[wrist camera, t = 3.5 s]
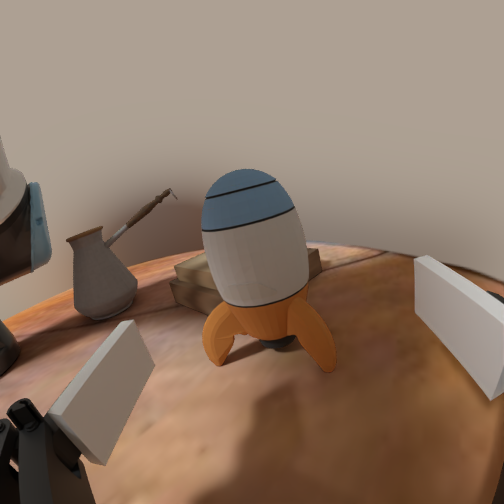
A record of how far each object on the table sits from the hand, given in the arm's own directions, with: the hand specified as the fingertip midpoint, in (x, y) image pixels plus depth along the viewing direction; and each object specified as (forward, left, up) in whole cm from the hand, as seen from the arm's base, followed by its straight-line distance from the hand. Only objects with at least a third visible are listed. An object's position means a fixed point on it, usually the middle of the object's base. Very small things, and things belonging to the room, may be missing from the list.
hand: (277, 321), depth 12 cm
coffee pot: (-34, +3, -8) cm, 35 cm away
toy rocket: (-6, +5, -8) cm, 11 cm away
